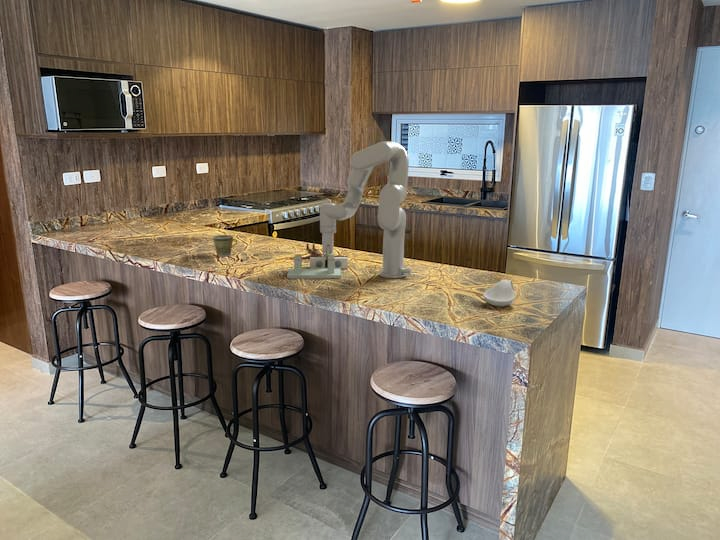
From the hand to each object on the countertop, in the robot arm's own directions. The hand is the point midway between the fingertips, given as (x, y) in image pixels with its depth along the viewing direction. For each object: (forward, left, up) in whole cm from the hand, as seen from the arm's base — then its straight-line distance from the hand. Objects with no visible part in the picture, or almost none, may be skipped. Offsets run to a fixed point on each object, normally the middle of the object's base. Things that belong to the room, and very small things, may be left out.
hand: (328, 266), depth 262 cm
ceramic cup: (+59, +4, -1) cm, 59 cm away
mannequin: (+20, -22, -2) cm, 30 cm away
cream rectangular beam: (0, 0, -1) cm, 1 cm away
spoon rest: (-85, +10, -1) cm, 86 cm away
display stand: (-1, +14, -1) cm, 14 cm away
